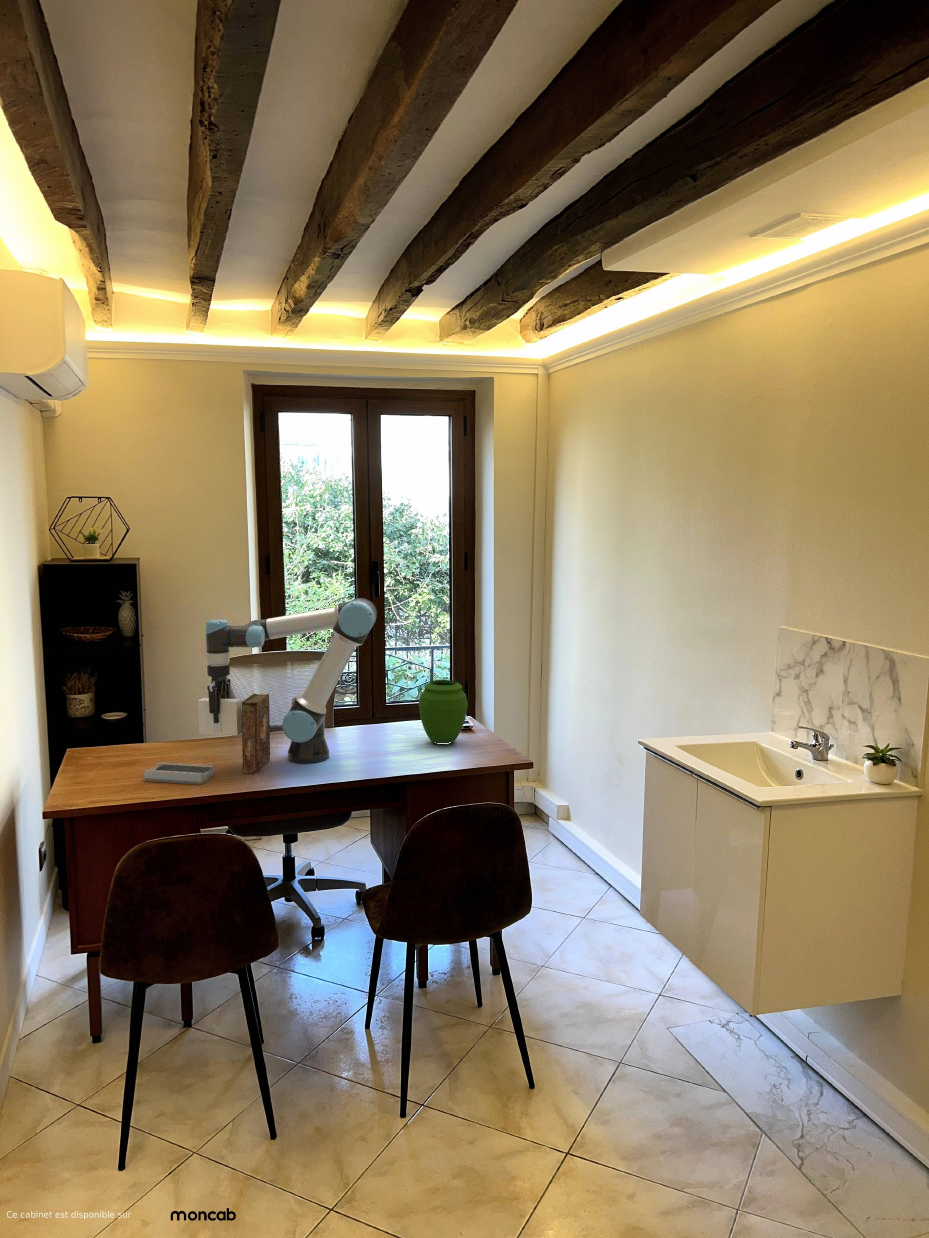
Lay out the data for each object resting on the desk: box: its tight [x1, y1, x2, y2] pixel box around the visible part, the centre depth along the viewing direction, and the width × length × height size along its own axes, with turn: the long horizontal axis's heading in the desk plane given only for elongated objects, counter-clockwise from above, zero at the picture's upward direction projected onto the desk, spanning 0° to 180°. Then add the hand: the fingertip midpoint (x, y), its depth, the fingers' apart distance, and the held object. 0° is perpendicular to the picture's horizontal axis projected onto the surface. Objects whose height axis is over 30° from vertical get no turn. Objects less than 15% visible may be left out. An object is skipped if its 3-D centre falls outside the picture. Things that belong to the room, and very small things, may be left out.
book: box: [241, 692, 271, 775], centre depth 287 cm, size 16×6×25 cm, turn 178°
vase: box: [418, 679, 469, 743], centre depth 323 cm, size 20×20×24 cm
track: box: [143, 762, 215, 786], centre depth 275 cm, size 20×10×4 cm, turn 81°
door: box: [197, 697, 242, 737], centre depth 286 cm, size 14×4×12 cm, turn 81°
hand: (220, 729), depth 286 cm, fingers closed on door, 4 cm apart
